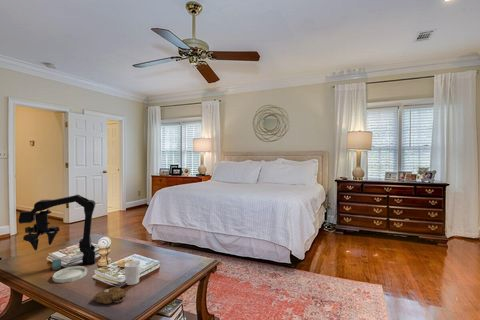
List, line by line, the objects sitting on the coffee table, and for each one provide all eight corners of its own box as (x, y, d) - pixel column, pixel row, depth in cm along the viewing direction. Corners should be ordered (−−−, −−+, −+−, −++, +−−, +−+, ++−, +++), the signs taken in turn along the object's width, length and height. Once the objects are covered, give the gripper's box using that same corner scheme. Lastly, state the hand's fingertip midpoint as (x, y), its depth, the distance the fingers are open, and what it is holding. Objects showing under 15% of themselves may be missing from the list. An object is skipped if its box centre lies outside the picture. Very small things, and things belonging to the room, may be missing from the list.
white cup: (143, 280, 144) (143, 262, 143) (133, 286, 136) (133, 268, 136) (131, 277, 146) (131, 260, 146) (121, 284, 139) (121, 265, 138)
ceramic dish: (89, 267, 158) (89, 264, 158) (83, 279, 143) (83, 276, 143) (57, 271, 152) (57, 268, 152) (49, 284, 137) (49, 281, 137)
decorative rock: (132, 294, 130) (104, 293, 131) (132, 286, 130) (104, 285, 131) (119, 307, 118) (89, 305, 120) (119, 297, 118) (89, 296, 120)
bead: (62, 266, 160) (62, 258, 160) (60, 269, 156) (60, 261, 156) (53, 267, 158) (53, 259, 158) (51, 270, 154) (51, 262, 154)
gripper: (44, 217, 165) (45, 241, 166) (14, 225, 147) (15, 252, 148) (59, 217, 164) (60, 242, 164) (31, 226, 145) (32, 253, 146)
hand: (43, 247), depth 155 cm, fingers open, 9 cm apart
